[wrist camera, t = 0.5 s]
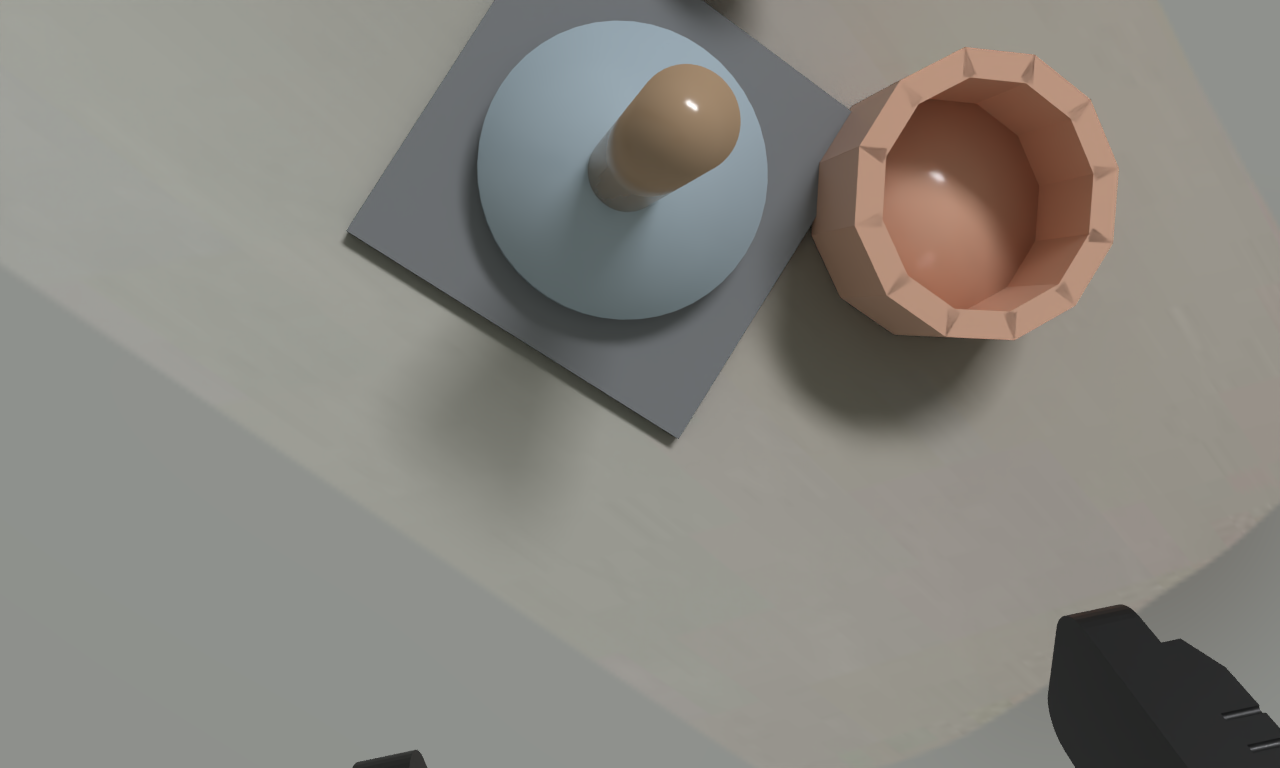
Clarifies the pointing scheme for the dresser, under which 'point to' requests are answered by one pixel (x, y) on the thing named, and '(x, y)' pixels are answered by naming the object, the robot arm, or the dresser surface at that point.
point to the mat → (486, 283)
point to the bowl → (967, 198)
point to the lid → (622, 170)
